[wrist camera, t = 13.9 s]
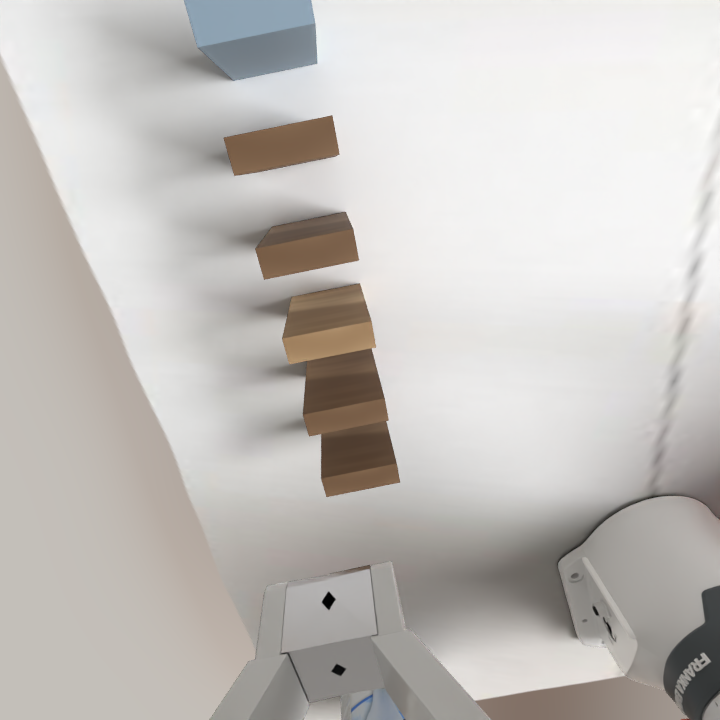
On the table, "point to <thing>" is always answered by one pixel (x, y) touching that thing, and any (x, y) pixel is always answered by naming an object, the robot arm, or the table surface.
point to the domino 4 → (327, 324)
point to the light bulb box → (369, 706)
